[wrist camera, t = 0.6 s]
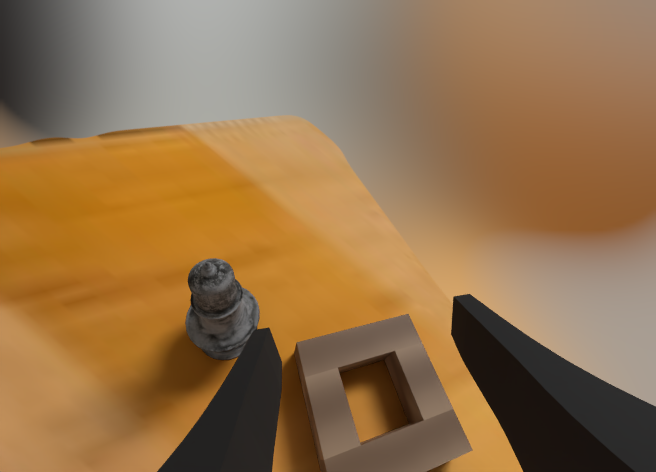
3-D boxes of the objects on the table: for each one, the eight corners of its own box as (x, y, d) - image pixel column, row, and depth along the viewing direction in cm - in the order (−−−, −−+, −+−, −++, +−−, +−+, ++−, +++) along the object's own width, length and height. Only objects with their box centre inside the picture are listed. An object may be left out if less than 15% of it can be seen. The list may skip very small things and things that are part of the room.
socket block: (452, 450, 24) (472, 450, 22) (328, 506, 21) (336, 512, 18) (397, 324, 30) (408, 313, 28) (294, 352, 27) (296, 342, 24)
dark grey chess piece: (264, 355, 26) (261, 299, 17) (193, 370, 24) (147, 317, 15) (256, 296, 29) (251, 221, 20) (194, 306, 28) (156, 230, 18)
